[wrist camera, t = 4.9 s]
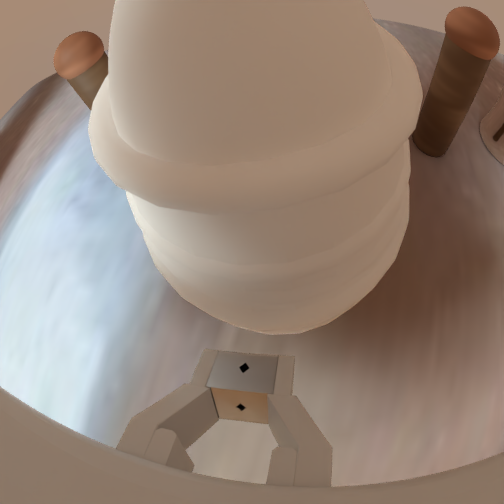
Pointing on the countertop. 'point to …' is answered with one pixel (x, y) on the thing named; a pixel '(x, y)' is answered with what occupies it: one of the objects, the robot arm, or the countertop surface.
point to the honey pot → (260, 151)
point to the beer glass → (494, 129)
